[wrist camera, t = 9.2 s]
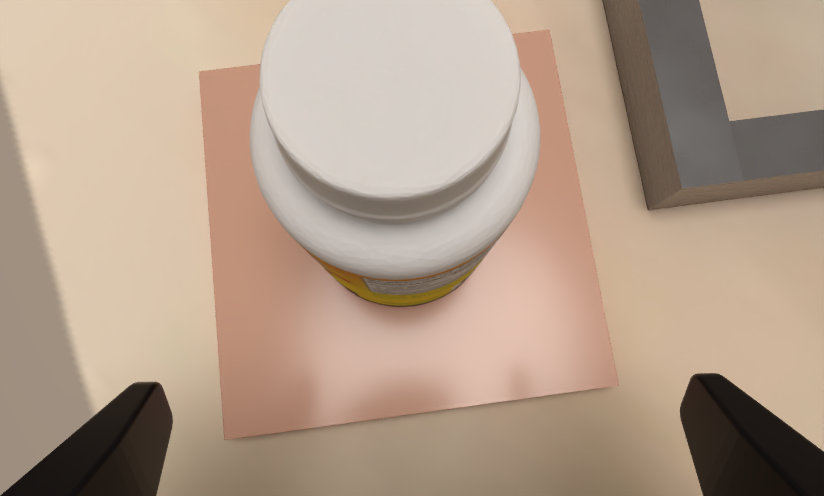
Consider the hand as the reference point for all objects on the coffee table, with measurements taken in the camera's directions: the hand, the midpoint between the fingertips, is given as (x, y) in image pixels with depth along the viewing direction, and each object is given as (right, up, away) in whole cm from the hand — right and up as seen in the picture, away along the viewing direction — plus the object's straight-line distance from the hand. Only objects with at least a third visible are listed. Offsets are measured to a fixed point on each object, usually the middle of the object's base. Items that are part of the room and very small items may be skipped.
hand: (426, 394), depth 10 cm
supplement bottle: (-1, +3, +9) cm, 9 cm away
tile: (-1, +3, +10) cm, 10 cm away
